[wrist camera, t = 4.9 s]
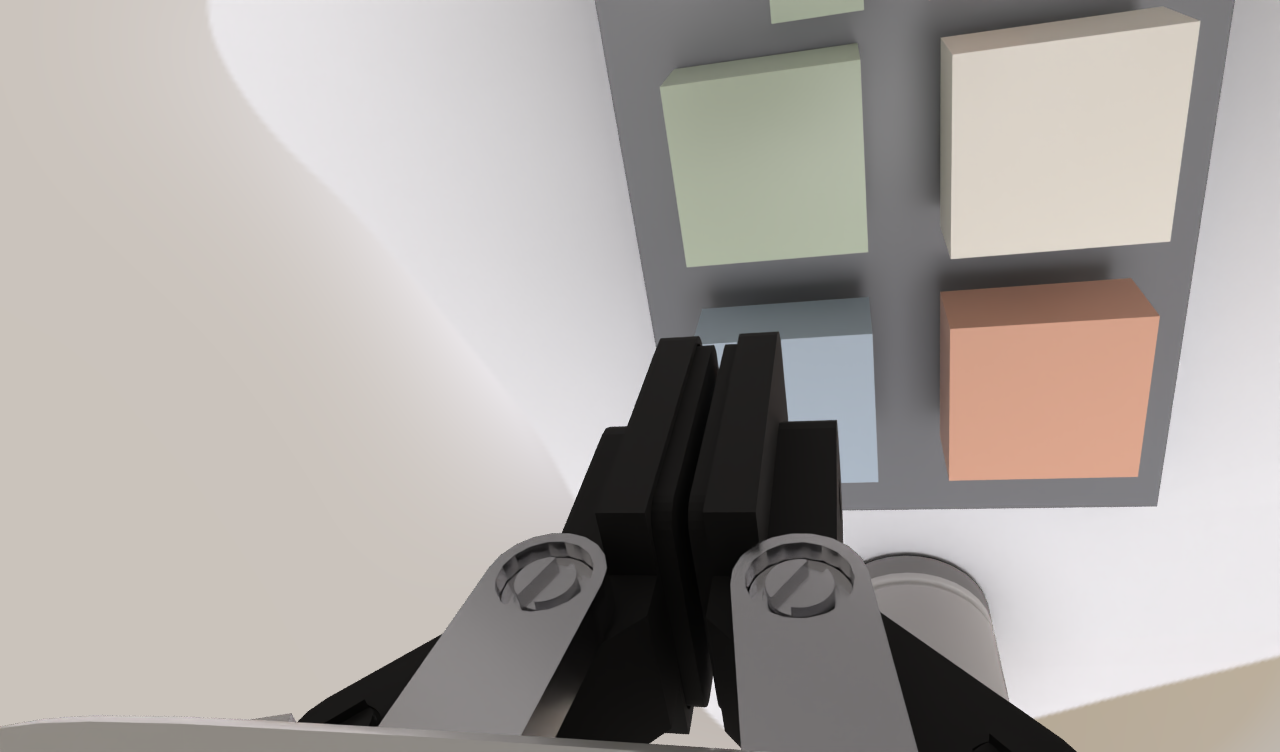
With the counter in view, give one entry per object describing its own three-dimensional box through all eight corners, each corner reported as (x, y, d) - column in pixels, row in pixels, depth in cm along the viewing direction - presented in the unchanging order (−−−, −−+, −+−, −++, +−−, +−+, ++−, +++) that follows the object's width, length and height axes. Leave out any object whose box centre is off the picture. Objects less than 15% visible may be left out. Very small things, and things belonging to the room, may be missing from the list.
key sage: (857, 43, 23) (860, 59, 21) (864, 221, 25) (868, 252, 23) (673, 69, 24) (659, 87, 22) (697, 236, 26) (686, 267, 24)
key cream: (1163, 6, 20) (1200, 20, 18) (1139, 208, 23) (1169, 241, 21) (940, 37, 21) (952, 54, 19) (940, 226, 24) (951, 259, 22)
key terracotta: (1131, 278, 24) (1159, 316, 21) (1113, 429, 26) (1138, 476, 24) (940, 291, 25) (950, 329, 23) (940, 435, 27) (949, 480, 25)
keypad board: (1230, -202, 21) (1274, -210, 19) (1138, 470, 30) (1160, 513, 28) (597, -82, 24) (577, -77, 22) (692, 480, 34) (684, 519, 32)
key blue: (868, 296, 25) (872, 334, 23) (874, 437, 28) (878, 482, 26) (702, 308, 26) (691, 344, 24) (721, 442, 29) (713, 485, 27)
